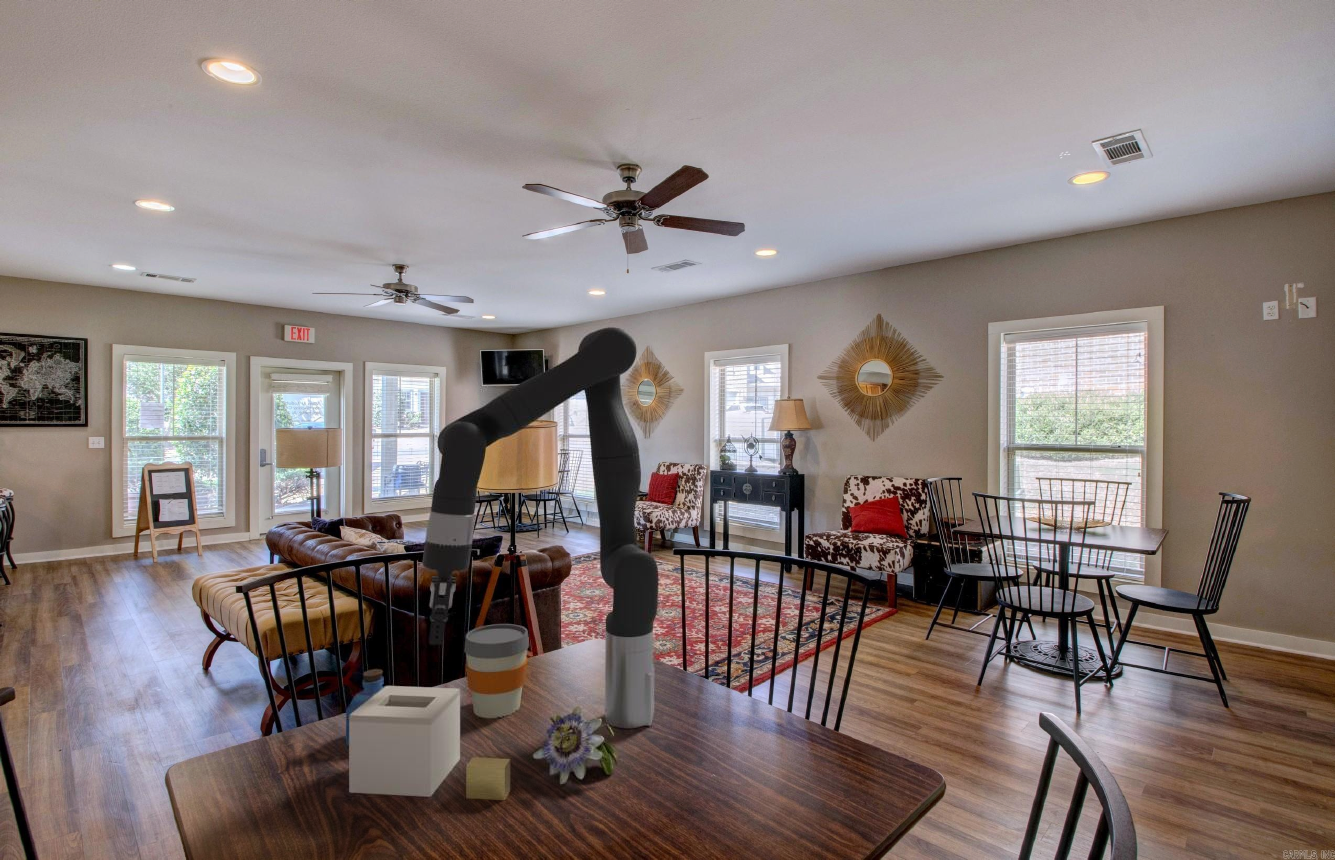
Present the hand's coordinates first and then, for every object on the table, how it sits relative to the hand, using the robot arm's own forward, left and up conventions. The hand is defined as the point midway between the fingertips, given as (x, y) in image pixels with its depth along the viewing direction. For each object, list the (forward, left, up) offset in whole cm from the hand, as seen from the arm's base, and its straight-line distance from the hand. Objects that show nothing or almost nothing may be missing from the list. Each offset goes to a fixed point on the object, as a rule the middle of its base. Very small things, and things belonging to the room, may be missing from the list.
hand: (436, 636), depth 107 cm
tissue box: (+3, +4, -21) cm, 22 cm away
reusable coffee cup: (-3, -21, -22) cm, 30 cm away
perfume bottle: (+15, -7, -22) cm, 27 cm away
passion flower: (-24, 0, -22) cm, 32 cm away
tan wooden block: (-12, +8, -22) cm, 26 cm away
